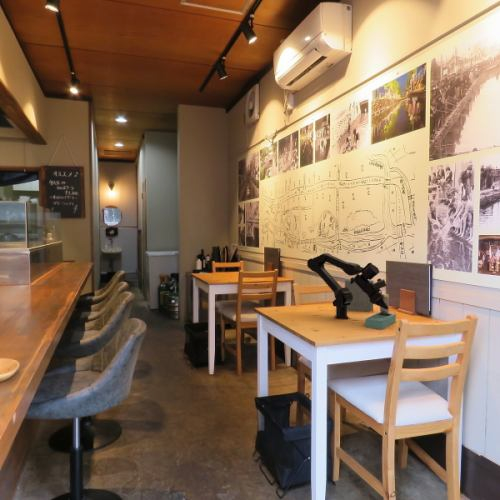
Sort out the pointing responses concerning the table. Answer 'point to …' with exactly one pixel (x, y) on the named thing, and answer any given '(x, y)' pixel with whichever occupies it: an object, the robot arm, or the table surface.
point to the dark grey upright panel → (358, 298)
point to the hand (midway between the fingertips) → (387, 307)
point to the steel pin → (386, 299)
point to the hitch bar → (380, 321)
